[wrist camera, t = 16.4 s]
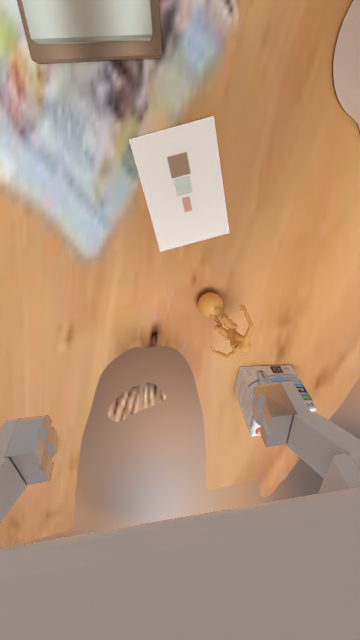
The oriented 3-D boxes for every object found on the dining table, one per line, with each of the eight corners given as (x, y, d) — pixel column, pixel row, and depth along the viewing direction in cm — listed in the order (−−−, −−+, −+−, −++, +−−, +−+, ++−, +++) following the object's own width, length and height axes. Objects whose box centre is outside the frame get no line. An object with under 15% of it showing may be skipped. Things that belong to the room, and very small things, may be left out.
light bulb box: (291, 363, 60) (319, 407, 51) (282, 388, 64) (307, 433, 55) (238, 366, 58) (257, 411, 50) (232, 391, 62) (249, 437, 53)
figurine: (210, 272, 46) (232, 316, 37) (242, 286, 49) (271, 332, 39) (184, 315, 50) (198, 365, 40) (215, 326, 52) (235, 377, 43)
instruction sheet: (213, 115, 35) (213, 115, 35) (229, 232, 43) (229, 233, 43) (128, 139, 35) (128, 139, 35) (160, 251, 43) (160, 251, 43)
